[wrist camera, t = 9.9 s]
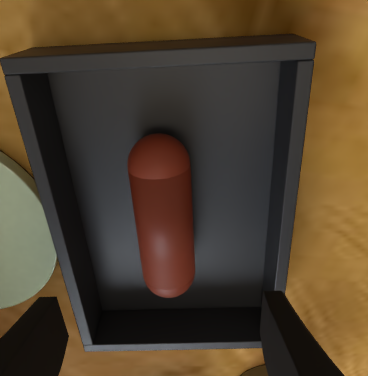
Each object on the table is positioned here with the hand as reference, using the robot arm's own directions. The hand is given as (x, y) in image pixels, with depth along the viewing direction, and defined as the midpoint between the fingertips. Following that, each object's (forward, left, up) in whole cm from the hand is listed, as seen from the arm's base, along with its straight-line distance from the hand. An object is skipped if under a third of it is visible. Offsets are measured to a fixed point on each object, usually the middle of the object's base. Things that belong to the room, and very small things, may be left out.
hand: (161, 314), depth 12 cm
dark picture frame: (0, 0, -7) cm, 7 cm away
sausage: (0, 0, -7) cm, 7 cm away
